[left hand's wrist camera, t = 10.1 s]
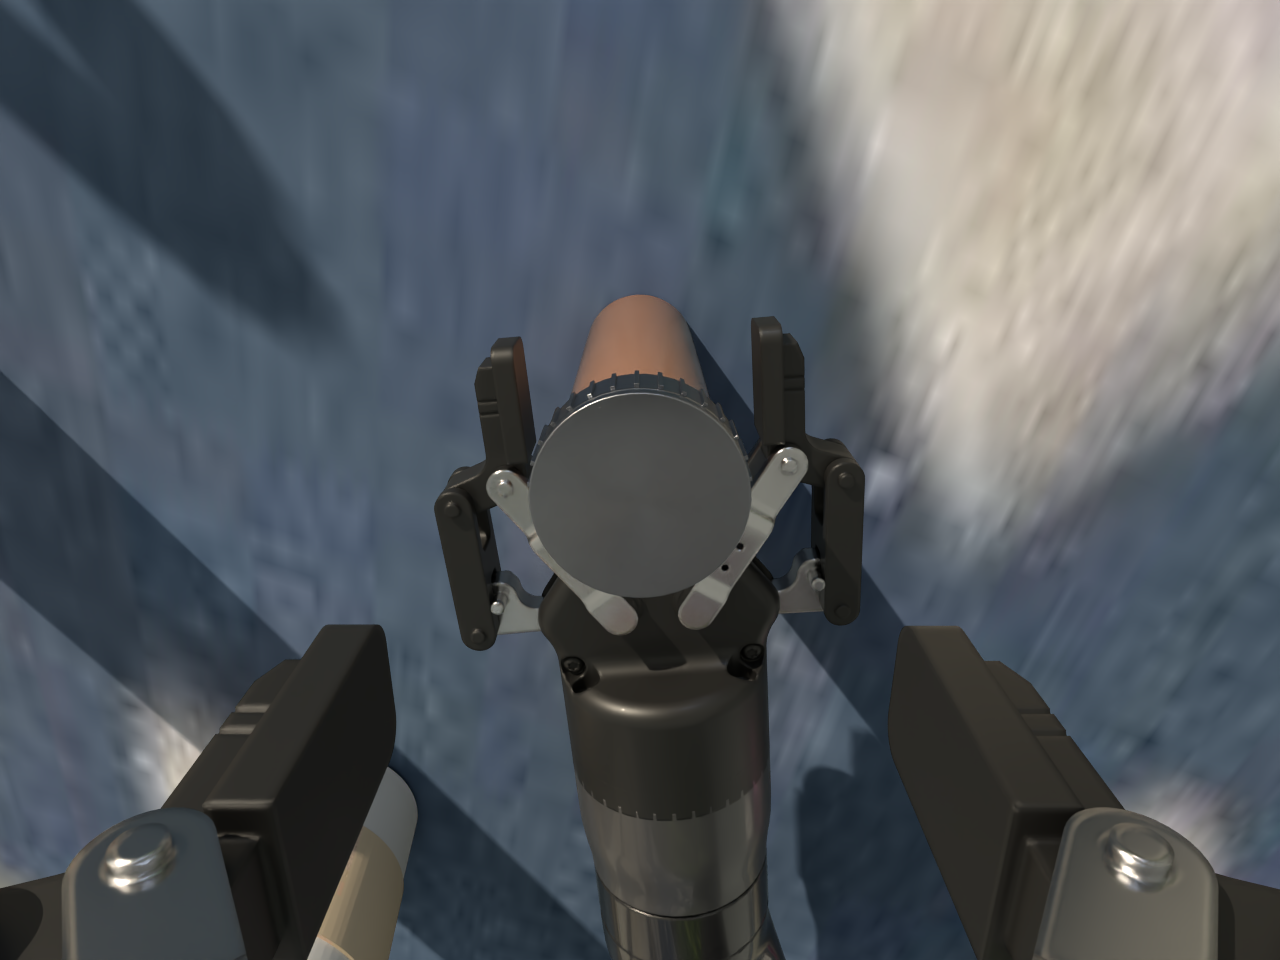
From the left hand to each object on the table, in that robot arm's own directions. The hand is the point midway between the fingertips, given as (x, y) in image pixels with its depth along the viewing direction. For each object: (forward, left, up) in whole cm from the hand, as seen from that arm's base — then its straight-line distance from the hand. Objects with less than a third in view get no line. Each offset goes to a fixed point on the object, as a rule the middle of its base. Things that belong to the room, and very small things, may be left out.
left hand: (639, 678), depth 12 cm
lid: (0, 0, -7) cm, 7 cm away
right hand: (0, -2, -15) cm, 16 cm away
